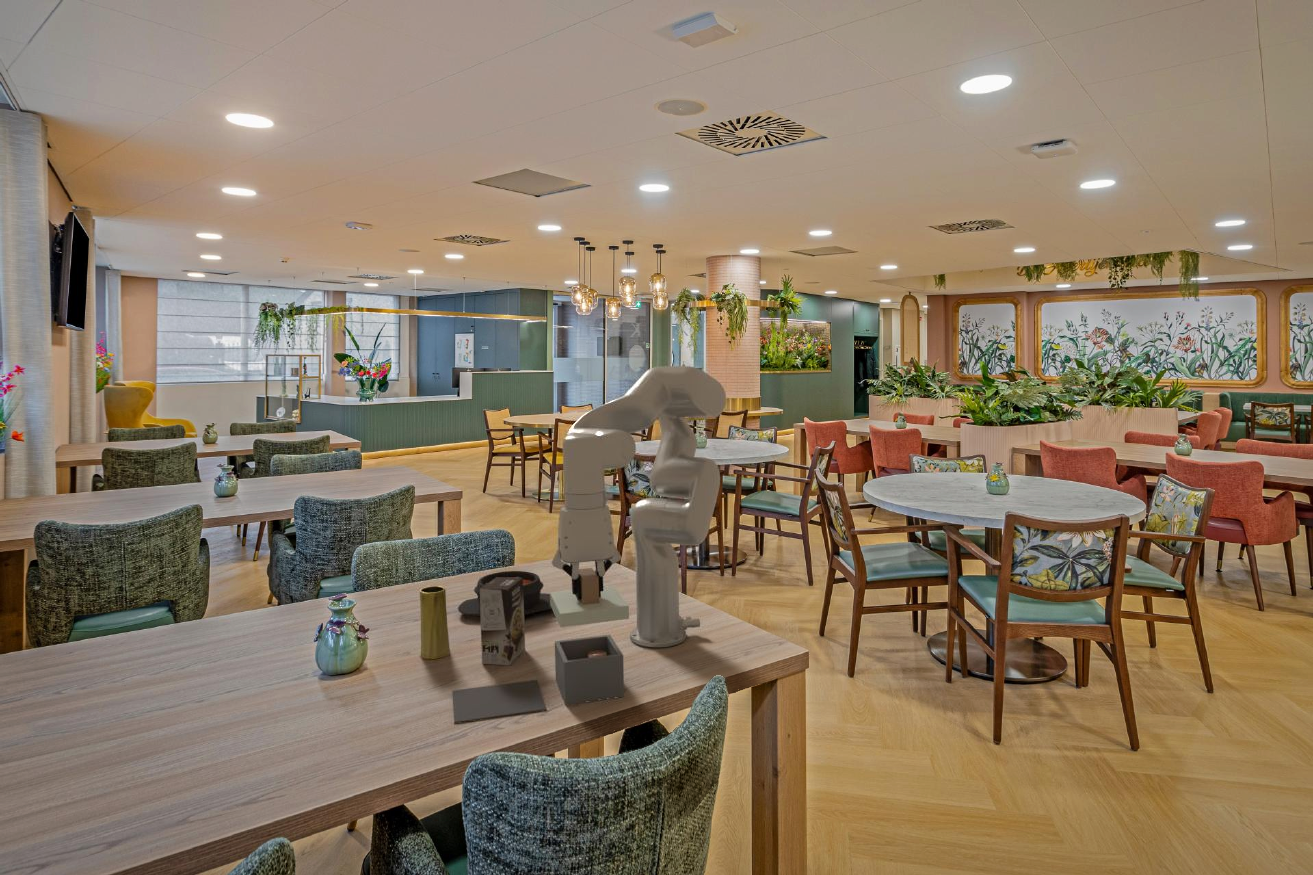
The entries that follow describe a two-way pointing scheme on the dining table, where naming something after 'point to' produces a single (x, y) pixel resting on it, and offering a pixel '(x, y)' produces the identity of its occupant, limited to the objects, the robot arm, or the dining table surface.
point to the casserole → (531, 593)
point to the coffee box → (502, 620)
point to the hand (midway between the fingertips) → (587, 595)
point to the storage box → (589, 669)
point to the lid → (588, 603)
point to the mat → (497, 701)
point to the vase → (434, 623)
